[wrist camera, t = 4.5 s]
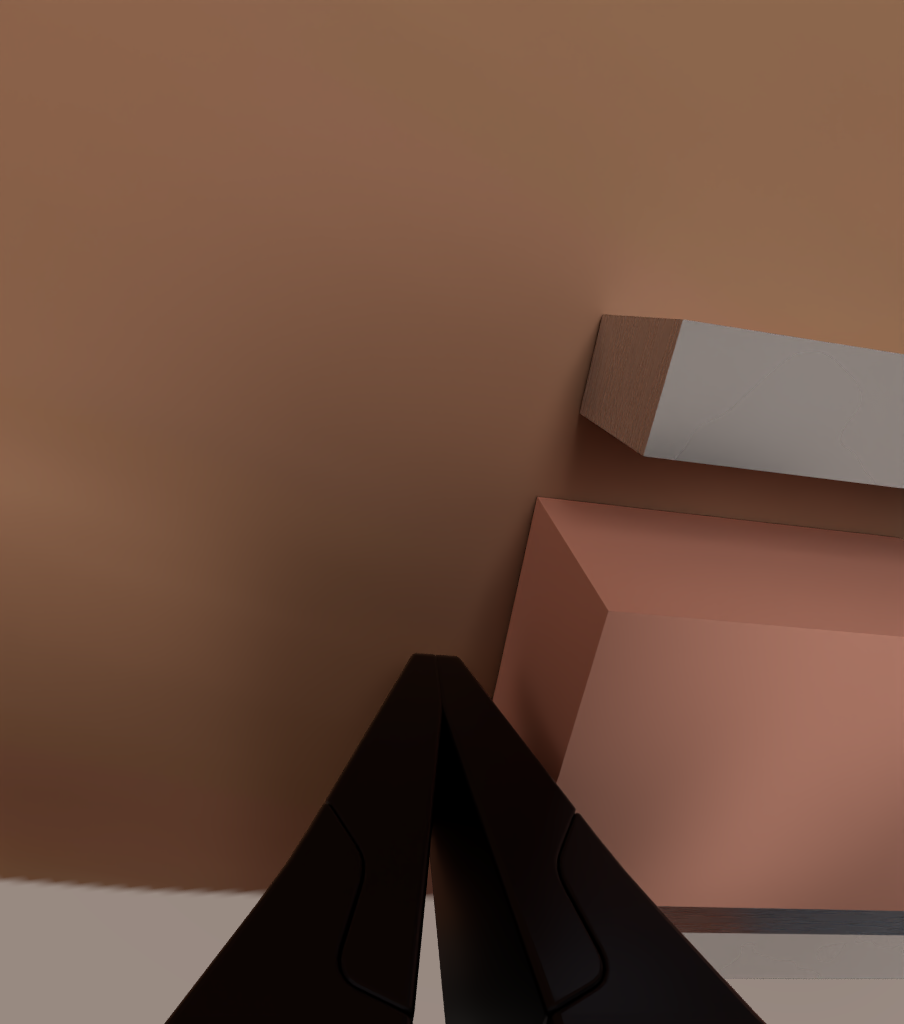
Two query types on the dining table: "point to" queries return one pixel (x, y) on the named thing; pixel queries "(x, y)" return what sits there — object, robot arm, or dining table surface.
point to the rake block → (718, 701)
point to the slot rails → (773, 448)
